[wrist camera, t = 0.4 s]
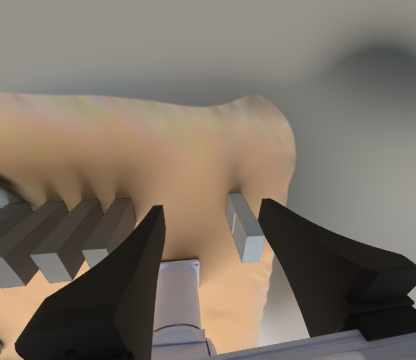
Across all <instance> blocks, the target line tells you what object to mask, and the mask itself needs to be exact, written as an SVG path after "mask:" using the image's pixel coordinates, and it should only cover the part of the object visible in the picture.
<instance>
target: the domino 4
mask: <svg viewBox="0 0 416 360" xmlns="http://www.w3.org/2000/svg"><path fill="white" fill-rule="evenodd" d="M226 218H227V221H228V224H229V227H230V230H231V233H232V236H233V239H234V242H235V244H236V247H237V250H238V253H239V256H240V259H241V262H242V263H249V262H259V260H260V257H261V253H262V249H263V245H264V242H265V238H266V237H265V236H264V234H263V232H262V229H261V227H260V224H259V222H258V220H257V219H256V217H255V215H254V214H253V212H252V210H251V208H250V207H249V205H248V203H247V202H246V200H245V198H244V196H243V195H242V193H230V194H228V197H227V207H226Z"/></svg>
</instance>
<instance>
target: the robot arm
mask: <svg viewBox="0 0 416 360" xmlns="http://www.w3.org/2000/svg"><path fill="white" fill-rule="evenodd" d="M258 222H259V224H260V227H261V229H262V232H263V234H264V236H265V237H266V239H267V241H268V243H269V244H270V246H271V248H272V249H273V251H274V253H275V255H276V256H277V258H278V260H279V262H280V264H281V265H282V267H283V270H284V272H285V274H286V276H287V279H288V281H289V283H290V286H291V288H292V290H293V292H294V295H295V298H296V300H297V303H298V305H299V308H300V310H301V313H302V316H303V319H304V321H305V324H306V327H307V330H308V333H309V335H310V338H307V339H301V340H296V341H290V342H285V343H279V344H274V345H268V346H263V347H257V348H252V349H246V350H241V351H235V352H230V353H224V354H219V355H217V352H216V349H215V346H214V344H213V343H212V341H211V340H210V339H209V338H205V329H201V318H200V305H199V260H198V259H193V260H183V261H172V262H162V263H161V259H162V253H163V248H164V243H165V232H166V226H165V218H164V211H163V205H156V206H153V207H152V208H151V209H150V211H149V212H148V213H147V215H146V216H145V217H144V219H143V220H142V221H141V222H140V224H139V225H138V226H137V227H136V228H135V229H134V231H133V232H132V233H131V234H130V235H129V236H128V237H127V238H126V239H125V240H124V241H123V242H122V243H121V244H120V245H119V246H118V247H117V248H116V249H115V250H114V251H112V252H111V253H110V254H109V255H108V256H106V257H105V258H104V259H103V260H101V261H100V262H99V263H98V264H96V265H95V266H94V267H92V268H91V269H90V270H88V271H87V272H85V273H84V274H83V275H81V276H80V277H78V278H77V279H75V280H74V281H72V282H71V283H69V284H68V285H66V286H65V287H63V288H61V289H60V290H58V291H57V292H55V293H54V294H52V295H50V296H49V297H47V298H45V300H44V301H43V302H42V304H41V305H40V307H39V308H38V309H37V311H36V312H35V314H34V315H33V317H32V318H31V320H30V321H29V323H28V324H27V326H26V327H25V329H24V330H23V332H22V333H21V335H20V336H19V338H18V339H17V341H16V342H15V350H16V352H17V353H18V355H19V356H20V357H22V358H23V359H24V360H416V309H415V308H414V307H413V306H412V305H413V304H414V301H413V300H412V299H411V298H410V297H409V296H407V294H408V293H409V292H410V291H411V290H412V289H413V288H414V287H415V286H416V264H414V263H413V262H412V261H410V260H409V259H408V258H406V257H405V256H403V255H401V254H397V253H394V252H390V251H386V250H383V249H380V248H376V247H372V246H370V245H367V244H364V243H360V242H357V241H355V240H352V239H349V238H346V237H344V236H341V235H339V234H336V233H334V232H332V231H329V230H327V229H325V228H323V227H321V226H318V225H316V224H314V223H312V222H310V221H308V220H307V219H305V218H303V217H301V216H299V215H298V214H296V213H294V212H293V211H291V210H289V209H288V208H286V207H284V206H283V205H281V204H279V203H278V202H276V201H274V200H272V199H270V198H267V199H262V202H261V207H260V212H259V217H258Z"/></svg>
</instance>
